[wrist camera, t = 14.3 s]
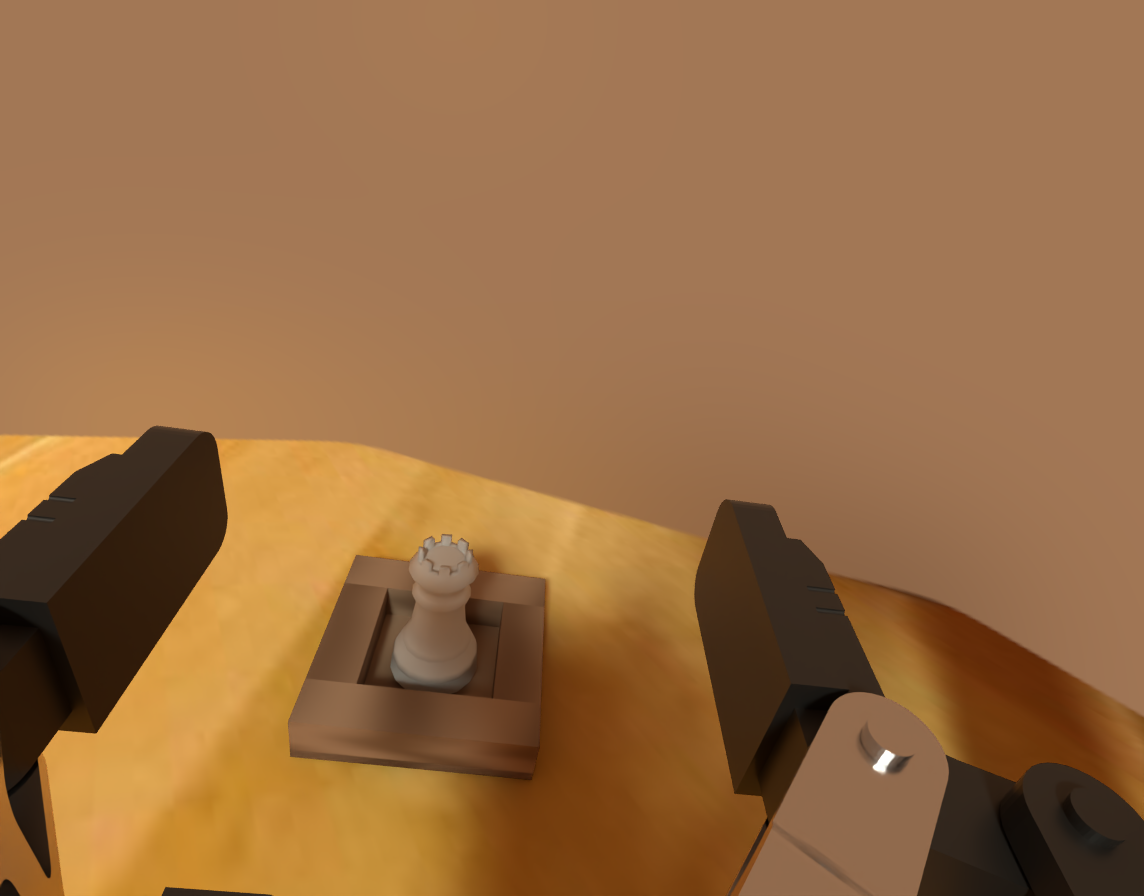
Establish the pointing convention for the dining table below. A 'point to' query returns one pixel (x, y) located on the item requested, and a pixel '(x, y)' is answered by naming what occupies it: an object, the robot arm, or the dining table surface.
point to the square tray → (420, 718)
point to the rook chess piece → (438, 620)
